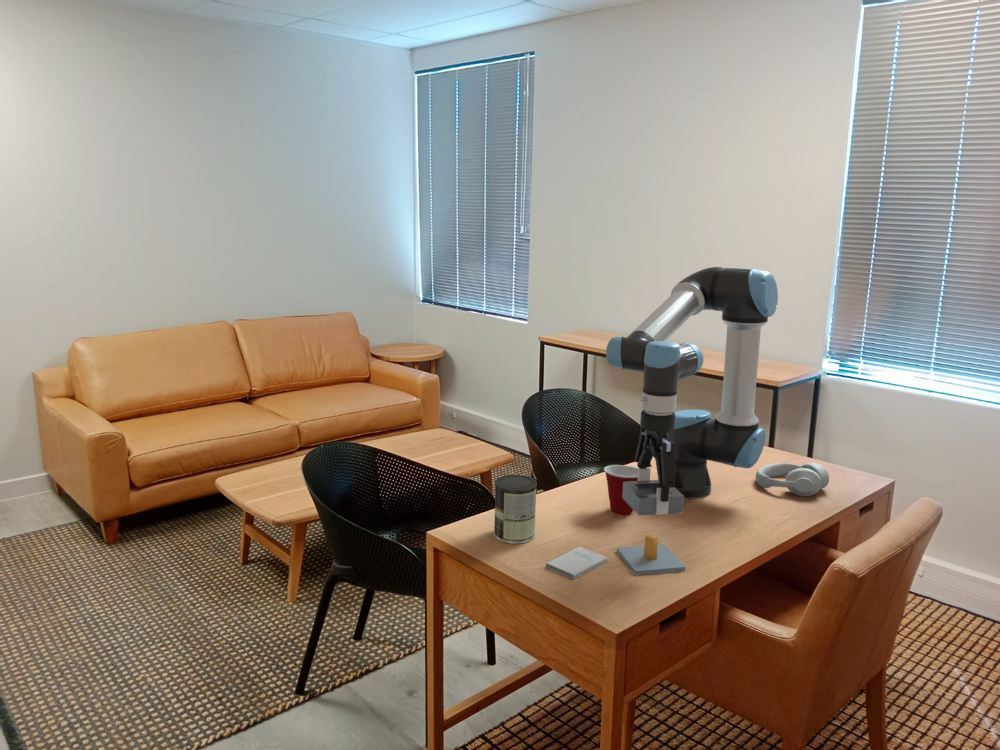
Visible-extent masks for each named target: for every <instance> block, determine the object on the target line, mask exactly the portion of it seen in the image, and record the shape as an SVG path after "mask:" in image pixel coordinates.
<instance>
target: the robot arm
mask: <svg viewBox="0 0 1000 750" xmlns="http://www.w3.org/2000/svg"><path fill="white" fill-rule="evenodd" d="M778 291H779V290H778V285H777V281H776V279H775V277H774V276H773V274H772V273H771V272H769V271H766V270H760V269H755V268H754V269H753V268H736V267H735V268H734V267H722V266H713V267H706V268H704V269H700V270H698V271H696V272H694V273H691V274H689V275H688V276H686V277H684V278H683V279H682V280H680V281H679V282H678V283H677V284H676V285H674V287H672V290H671V292H670V296H669V297H668V298H667V299H665V300H664V301H663V302H662V303H661V304H660V305H659V306H658V307H657V308H656V309H655V310H654V311H653V312H652V313H651V314H650V315H649V316H648V317H646V319H644V320H643V321H642V322H641V323H640V324H639V325H638V326H636V328H635V329H634V330H632V332H631V333H630V334H629V335H627V337H626V336H623V335H622V336H613V337H612V338H610V340H609V341H608V343H607V346H606V349H605V357H606V358H605V359H606V361H607V363H608V364H609V366H611V367H614V368H619V369H622V370H629V371H635V372H641V373H642V372H643V381H642V396H641V397H640V401H641V408H642V410H641V412H640V421H639V422H640V426H639V427H640V428H639V436H638V442H637V446H636V451H635V456H634V462H635V463H637V468H639V469H638V481H647V480H651V468H652V467H653V465H652V463H651V461H652V460H653V458H654V460H655V466H656V473H657V480H659V485H657V486H656V487H657V494H656V509H655V515H656V516H658V515H668V506H669V492H670V488H672V487H675V488H676V489H677V490H678V491H679V492H680V493H681V494H683V495H684V499H685V498H686V499H690V498H691V499H693V498H694V499H696V498H702V497H706V496H708V495H710V494H711V491H712V481H711V478H710V473H709V469H708V465H707V463H708V461H711V462H714V463H720V464H723V465H727V466H731V467H733V468H742V469H750V468H752V467H754V466H755V465H756V464H757V462H758V461H759V459H760V457H761V455H762V453H763V450H764V447H765V443H766V436H767V435H766V434H767V433H766V430H765V428H764V429H763V428H762V427H760V426H759V425H760V419H759V418H758V416H757V415H755V405H756V402H755V401H756V391H757V380H758V379H757V378H758V368H759V367H758V366H759V355H760V342H761V331H762V330H761V329H762V327H763V326H765V325H766V324H767V323H768V319H769V318H770V317H773V316H774V315H775V313H776V310H777V305H778V302H779V301H778V299H779V295H778V293H779V292H778ZM702 311H716V312H722V313H721V321H722V322H723V323H724V324H725V325H726V338H725V352H724V353H725V355H724V366H723V368H724V369H723V379H722V380H723V381H722V382H723V383H722V391H721V392H722V393H721V394H722V396H721V409H720V411H719V412H718V413H716V414H715V416H714V418H712V414H711V412H710V411H708V410H704V409H703V410H702V409H682V410H679V411H677V401H678V399H677V398H678V384H679V382H678V381H679V380H683V379H685V378H689V377H692V376H693V375H695V374H697V373H698V372H699V371H700V370H701V369H702V367H703V365H704V355H703V354H704V353H702V350H701V348H699V347H698V346H697V345H695V344H694V343H689V342H686V343H684V342H682V343H677V342H673V341H669V339H670V338H671V337H672V336H673V335H674V334H675V333H676V332H677V331H678V330H679V329H680V328H681V327H682V326H683V325H684V324H685V323H686V322H687V321H688V320H689V319H690V318H691V317H692V316H696V315H699V314H700V313H701V312H702Z"/></svg>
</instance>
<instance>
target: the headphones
mask: <svg viewBox="0 0 1000 750" xmlns="http://www.w3.org/2000/svg"><path fill="white" fill-rule="evenodd" d="M774 477H785V480H779V479H774ZM755 480H756V483H757V484H758V486H759V487H761V488H763V489H770V488H773V487H775V488H787V489H788V490H789V492H791V493H792V494H794V495H797V496H800V497H810V496H813V495H815V494H817V493H818V492H819V490H822V489H824V488H825V489H826V487H828V485H829V483H830V482H829V481H830V476H829V473H828V471H827V470H826V468H825V467H824V466H823V465H822V464H820V463H818V462H808V463H803V464H802V465H800V464H798V465H797V464H795V463H791V462H776V463H770V464H767V465H763V466H761V467H760V468H758V470H757V471H756V473H755Z"/></svg>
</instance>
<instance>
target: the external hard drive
mask: <svg viewBox="0 0 1000 750" xmlns="http://www.w3.org/2000/svg"><path fill="white" fill-rule="evenodd" d="M607 560H608V558H607V557H606V556H605V555H602V554H600V553H597V552H595V551H592V550H590V549H588V548H587V549H586V548H584V547H583V546H578V547H576V548H574V549H572V550H570V551H567V552H565V553H564V554H562V555H560V556H558V557H556V558H554V559H551V560H550V561H548V562H545V568H546V569H548V570H551V571H554V572H556V573H558V574H560V575H563V576H565V577H567V578H570V579H572V580H576V579H577V578H579V577H581V576H583V575H585V574H587V573H588V572H590V571H592V570H594V569H595V568H598V567H599V566H601V565H603V564H604V563H606V562H607Z"/></svg>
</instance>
